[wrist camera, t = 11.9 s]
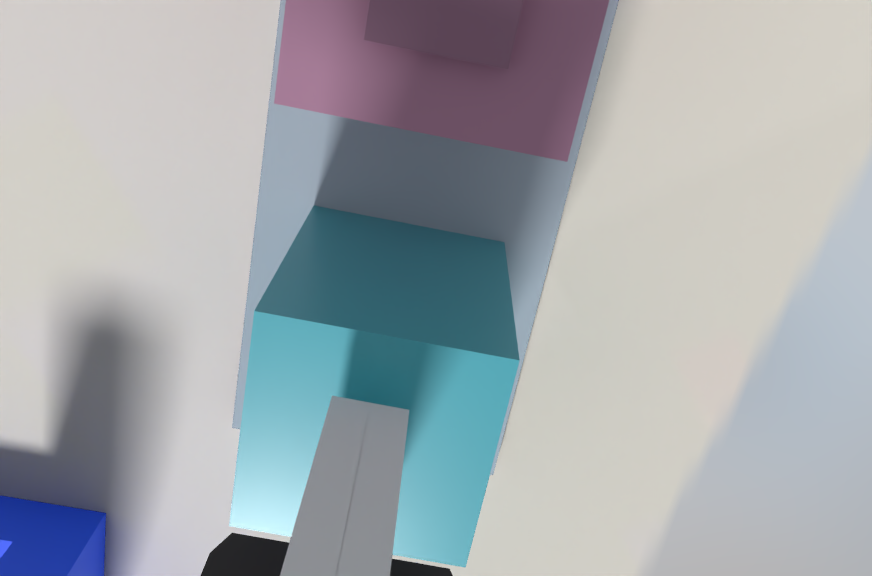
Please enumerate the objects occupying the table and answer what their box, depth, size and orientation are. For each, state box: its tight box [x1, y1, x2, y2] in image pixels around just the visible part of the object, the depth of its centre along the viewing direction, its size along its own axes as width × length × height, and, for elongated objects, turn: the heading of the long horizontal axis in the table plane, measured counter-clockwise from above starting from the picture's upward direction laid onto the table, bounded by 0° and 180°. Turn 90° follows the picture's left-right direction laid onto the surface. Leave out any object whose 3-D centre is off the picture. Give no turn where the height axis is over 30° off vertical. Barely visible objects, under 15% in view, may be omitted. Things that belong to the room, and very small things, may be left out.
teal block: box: [229, 206, 520, 567], centre depth 20 cm, size 5×5×7 cm
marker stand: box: [232, 0, 619, 475], centre depth 19 cm, size 8×18×8 cm, turn 169°
